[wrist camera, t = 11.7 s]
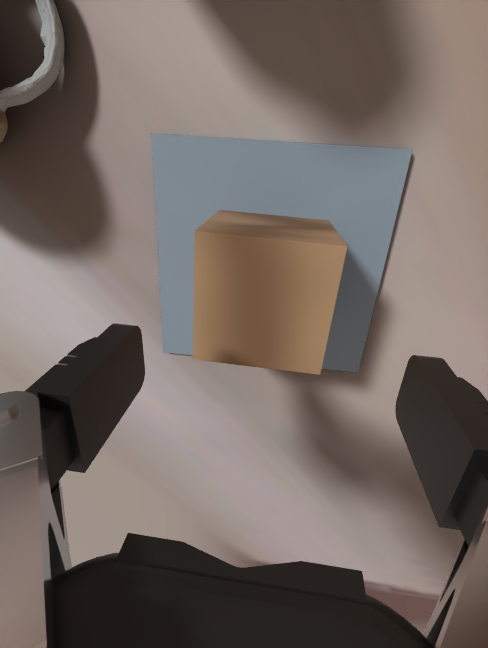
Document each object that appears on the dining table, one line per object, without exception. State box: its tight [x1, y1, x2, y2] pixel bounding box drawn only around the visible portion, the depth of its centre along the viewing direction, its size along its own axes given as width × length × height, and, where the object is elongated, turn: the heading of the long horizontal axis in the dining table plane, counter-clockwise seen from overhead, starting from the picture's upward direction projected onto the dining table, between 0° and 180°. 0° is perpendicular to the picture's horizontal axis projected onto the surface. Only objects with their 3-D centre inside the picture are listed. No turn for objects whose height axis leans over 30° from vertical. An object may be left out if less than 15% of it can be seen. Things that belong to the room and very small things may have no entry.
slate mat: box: [151, 134, 413, 372], centre depth 19 cm, size 12×12×1 cm
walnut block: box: [193, 210, 347, 375], centre depth 16 cm, size 6×6×6 cm
